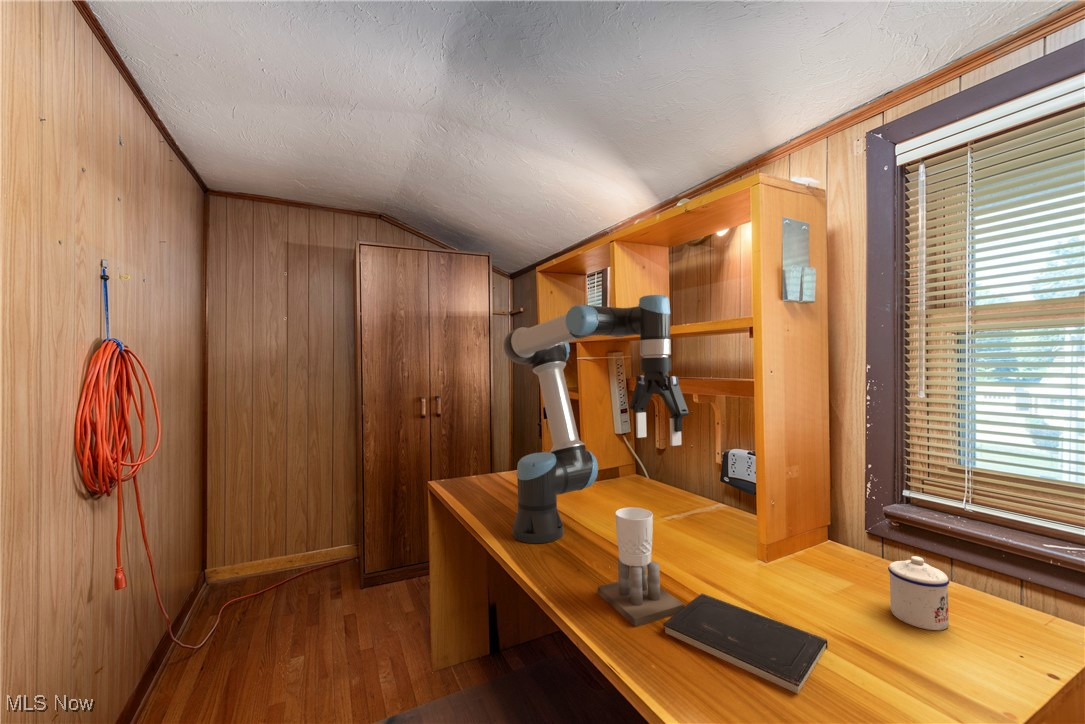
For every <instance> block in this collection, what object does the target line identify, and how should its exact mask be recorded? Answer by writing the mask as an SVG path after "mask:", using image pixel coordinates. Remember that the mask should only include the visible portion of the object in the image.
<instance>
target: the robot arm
mask: <svg viewBox="0 0 1085 724" xmlns="http://www.w3.org/2000/svg"><path fill="white" fill-rule="evenodd" d="M670 306H671V305H670V299H669V296H667V295H665V294H664V295H663V294H650V295H644V296H641V297H640V298H639V300H638V305H636V306H632V307H631V306H630V307H615V306H602V305H601V306H599V305H598V306H597V305H590V304H576V305H573V306H571V307H570V308H569V310H567V312H566V314H562V315H561V316H558V317H555V318H553V319H549V320H547V321H545V322H541V323H539V324H536V325H534V326H531V327H525V326H524V327H518V328H515V329H513V330H512V331H510V332H508V333H507V335H506V336H505V338H504V341H503V351H504V354H505V356H506V357H507V358H508V359H509V360H510V361H512V362H513V363H516V364H519V365H530V366H531V369H532V372H533V373H534V374H535V375H537V376H538V381H539V386H540V389H541V394H542V399H543V400H542V401H543V405H544V409H545V414H546V418H547V423H548V428H549V432H550V437H551V442H552V447H551V449H550V451H549V452H546V451H543V452H533V453H530V454H527V455H525V456H522V457H521V458H520V459H519V461H518V462H517V468H516V469H517V470H516V477H517V512H516V516H515V517H514V518H515V519H514V522H513V526H512V536H513V538H514V539H515V540H516V541H520V542H523V543H526V544H527V543H528V544H546V543H551V542H554V541H557V540H559V539H561V538H562V537H563V536H564V524H563V521H562V518H561V516H560V513H559V510H558V505H557V504H558V497H557V496H559V495H563V494H567V493H572V492H573V493H574V492H576V491H583V490H585V489H587V488H590V487H591V486H593V485H594V483H595V482H596V480H597V477H598V471H599V465H598V461H597V458H596V456H595V455H594V453H592V451H590V450H587V447H586V444H585V443H584V442H583V441H581V440H580V437H579V433H578V429H577V425H576V424H577V423H576V420H575V417H574V411H573V407H572V404H571V398H570V395H569V390H568V387H567V386H568V385H567V382H566V377H565V373H564V369H565V367H566V366H567V361H568V359H569V357H570V354H569V353H570V352H571V348H570V344H569V343H571V342H574V341H578V340H581V339H584V338H589V337H591V336H592V337H593V336H605V337H607V336H609V337H613V338H615V337H616V338H623V337H624V338H625V337H630V336H639V345H640V346H639V355H640V356H641V358H640V372H641V373H642V374H644V375H636V378H635V386H634V391H633V393H632V396H631V397H632V398H631V401H630V405H629V409H630V410H632V411H633V412H634V414H635V427H636V428H635V429H636V432H635V433H636V438H638V439H640V438H647V412H646V407H647V405H648V403H649V401H650V400H651V398H652V396H653V395H654V394H655V395H659V396H660V397H661V399H662V401H663V403H664V404H665V406H666V407H667V410H668V412H669V413H670V415H671V416H670V417H669V435H670V436H669V437H670V438H669V445H670V446H671V447H674V446H682V432H683V417H687V416H689V415H690V413H689V409H688V407H687V404H686V401H685V398H684V395H683V393H682V390H681V387H680V384H679V383H680V381H679V377H678V376H677V375H673V376H669V373H670V372H672V358H671V357H669V356H671V355H672V347H671V344H672V342H671V340H672V339H671V314H672V313H671V307H670Z"/></svg>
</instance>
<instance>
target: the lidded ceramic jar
mask: <svg viewBox="0 0 1085 724" xmlns="http://www.w3.org/2000/svg"><path fill="white" fill-rule="evenodd" d="M887 570H888V573H889V591H890V592H889V593H890V596H889V597H890V601H889V602H890V611H891V613H892V615H894V616H895V618H897V619H899V620H900V621H901V622H904V623H905V624H907V625H910V626H913V627H916V628H919V629H924V630H928V631H942V630H946V629H947V628H949V623H950V622H949V621H950V618H949V617H950V616H949V615H950V614H949V588H948V587H949V586H948V585H949V584H950V579H949V577H948V576H947V574H946V573H945V572H943V571H942V570H940V569H938V568H936V567H933V566H931V565H930V564H928V563H926V562H925V560H924V558H922V557H920V556H913V555H912V556H911V557H910V559H907V560H897V561H893V562H891V563H890V564H888V569H887Z"/></svg>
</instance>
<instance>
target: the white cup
mask: <svg viewBox="0 0 1085 724" xmlns="http://www.w3.org/2000/svg"><path fill="white" fill-rule="evenodd" d="M614 514H615V528H616V538H617V547H618V559H619V560H620V561H621V562H622V563H624V564H626V565H629V566H630V567H631V566H635V567H636V566H638V567H639V566H645V565H648V564H649V563H650V562H652V549H653V535H654V534H653V527H654V526H653V525H654V524H653V522H654V514H653V512H652V511H650V509H649V510H648V509H646V508H642V507H623V508H619V509H617V510H616V511H615V513H614Z"/></svg>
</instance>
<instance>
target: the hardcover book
mask: <svg viewBox="0 0 1085 724" xmlns="http://www.w3.org/2000/svg"><path fill="white" fill-rule="evenodd" d="M662 626H663V627H664V628H665V629H664V630H665V631H664V632H665V634H667V635H670V636H671V637H674V638H676V639H677V640H680V641H682V642H684V643H686V644H689V645H691V646H693V647H695V648H697V649H699V650H702V651H704V652H706V653H709V654H710V655H713V656H715V657H716V658H720V659H722V660H723V661H725V662H728V663H730V664H732V665H734V666H736V667H738V668H741V669H742V670H745V671H747V672H749V673H752V674H754V675H755V676H757V677H760V678H762V679H765V680H767V681H768V682H771V683H773V684H776V685H778V686H780V687H782V688H783V689H786V690H788V691H791V692H792V693H794V694H797V695H798V694H799V693H800V691H801V690H802V688H803V686H804V684H805V683H806V681H807V680H808V678H809V676H810V675H811V673H812V671H813V670H814V668H815V667H816V665H817V664H818V661H819V660H820V659H821V656H822V655H823V653H824V651H825V650H826V649H828V639H826V638H825V637H821V636H818V635H816V634H813V633H811V632H808V631H806V630H802V629H800V628H798V627H797V628H796V627H794V626H792V625H789V624H786V623H783V622H780V621H778V620H775V619H772V618H770V617H767V616H764V615H761V614H759V613H757V612H754V611H750V610H748V609H745V608H743V607H740V606H737V605H734V604H732V603H731V602H730V603H729V602H728V601H724V600H722V599H718V598H716V597H713V596H710V595H707V594H705V593H700V594H699V595H698V596H696V597H695V598H693V600H691V601H690V602H689V603H688V604H686V605H684V608H682V609H681V610H680V611H679V612H677V613H676V614H675V615H672V616H670V618H668V619H667V620H666V621H665V622H664V623H662Z"/></svg>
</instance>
